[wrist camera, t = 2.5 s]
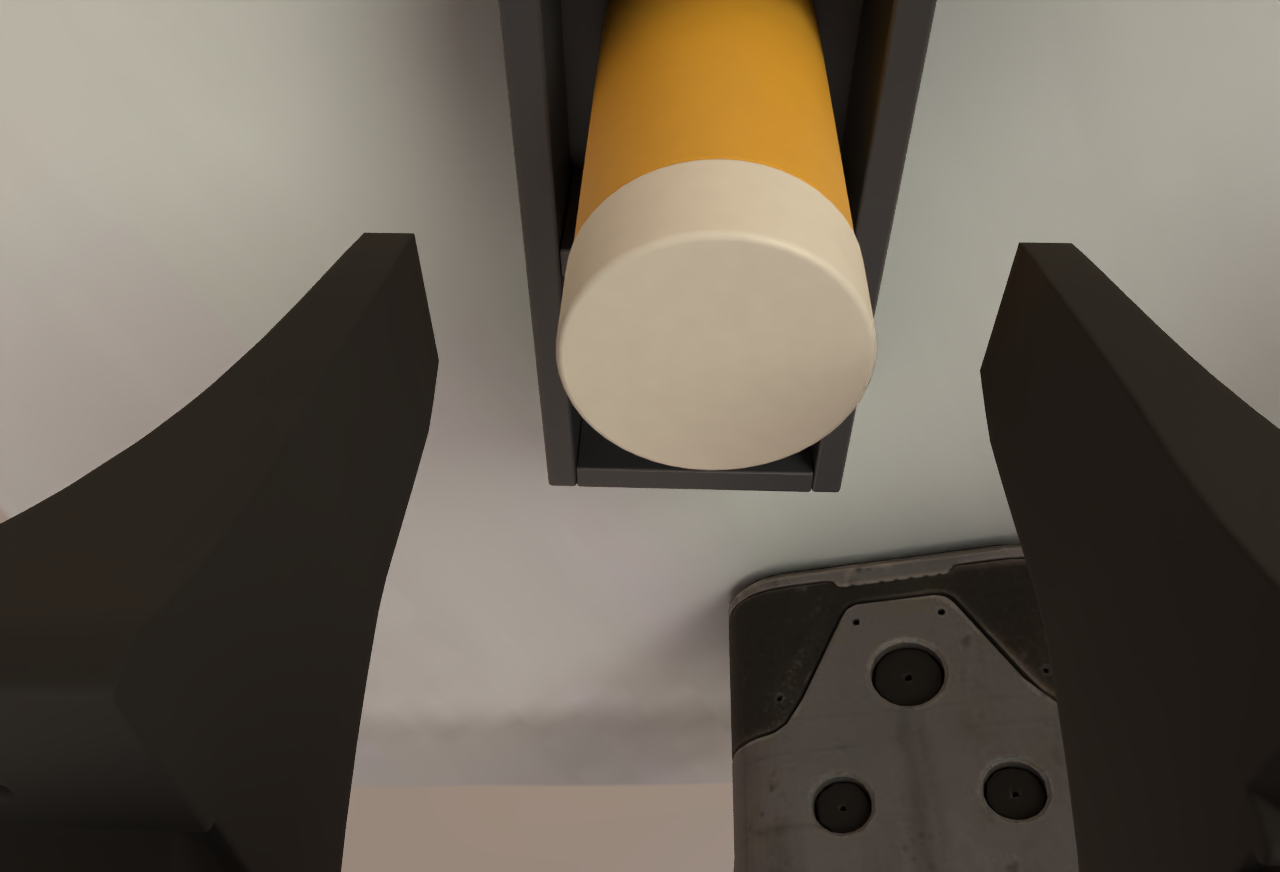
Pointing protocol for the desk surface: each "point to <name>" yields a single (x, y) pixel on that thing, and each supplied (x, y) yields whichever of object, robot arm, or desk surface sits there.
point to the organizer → (552, 177)
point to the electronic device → (897, 720)
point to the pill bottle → (714, 240)
